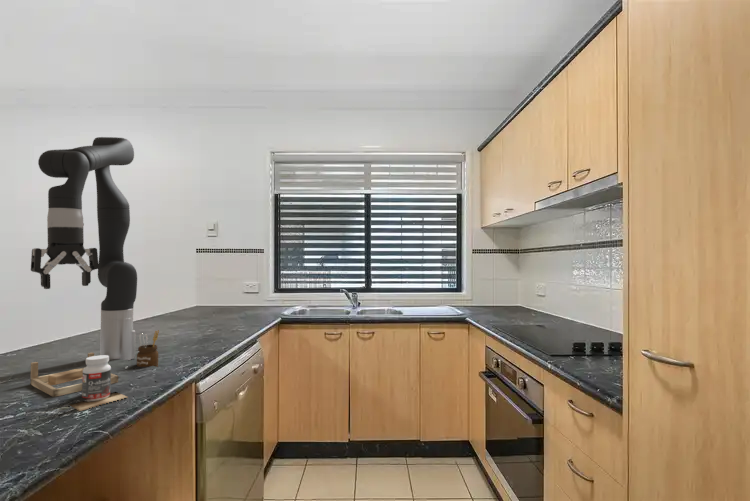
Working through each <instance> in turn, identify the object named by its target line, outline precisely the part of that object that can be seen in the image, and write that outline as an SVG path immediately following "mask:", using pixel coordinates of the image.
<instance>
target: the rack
mask: <svg viewBox="0 0 750 501" xmlns="http://www.w3.org/2000/svg"><path fill="white" fill-rule="evenodd" d="M92 356H95V353H94V352H87V358H88V357H92ZM84 368H85V367H81V368H80V369H81V370H83V369H84ZM61 372H62V371H61ZM61 372H59V373H61ZM57 373H58V372H56V373H50V374H46V375H45V374H44V375H40V376H39V362H38V361H34V362H30V379H29V380H30V382H29V383H30V385H31V386H33V387H34V388H35V389H38V390H40V391H41V392H43V393H44V394H47V395H49V396H51V397H52V398H56V397H61V396H64V395H69V394H75V393H78V392H82V382H81V383H77V384H76V383H75V384H72V385H71V384H70V385H68V386H63V387H59V388H56V387H55V386H53V385H51V386H50V385H48V384H46V383H47V382H48V377H49V375H53V374H57ZM116 383H119V375H116V374H115V373H112V372H111V385H112V384H116Z"/></svg>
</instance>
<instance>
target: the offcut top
mask: <svg viewBox="0 0 750 501" xmlns="http://www.w3.org/2000/svg"><path fill="white" fill-rule="evenodd" d="M56 373H57V374H55V373H52V374H53V375H50V374H48V375H49V377H48V383H50V384H55V385H54V386H57V385H60V384H64V383H63V382H65V383H68V382H67V381H69V382H72V381H71V380H73V381H76V380H75V379H78V378H82V377H83V370H81V368H73V369H70V370H65V371H61V373H60V372H56ZM78 380H79V379H78Z"/></svg>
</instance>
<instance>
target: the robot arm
mask: <svg viewBox="0 0 750 501" xmlns="http://www.w3.org/2000/svg"><path fill="white" fill-rule="evenodd" d="M134 149H135V148H134V147H133V144H132V142H131V141H130V140H128V139H127V138H124V137H114V136H113V137H112V136H111V137H110V136H109V137H108V136H101V137H95V138H94V139H93V141H92V145H83V146H79V147H73V148H68V149H65V148H64V149H50V150H46V151H44V152H42V153H41V154H40V156H39V157H38V162H37V163H38V168H39V169H40V171H41V172H42V173H43V174H45V175H46V176H48V177H51V178H55V179H56V178H57V179H58V178H59V179H60V178H61V179H62V178H63V179H66V178H67V179H66V180H65V182H64V183H63V184H60V185H54V186H52V187H50V188H49V189H48V194H47V199H48V200H47V202H48V204H47V208H48V212H47V215H46V216H47V219H46V220H47V222H46V223H47V225H46V226H47V247H46V248H39V247H38V248H36V247H35V248H32V250H31V258H30V261H31V262H30V271H31V272H32V273H38V274H39V275H40V286H41V287H42V288H43V289H45V290H50V289H51V274H50V272H51V271H52V270H53V268H56V267H57V266H58V265H59V266H60V265H76V266H77V267H79V268H80V270H81V271H82V272H81V285H82V287H88V286H89V284H91V282H92V281H91V279H92V278H91V273H92V272H93V271H95V270H97V277H98V278H97V279H98V282H99V283H100V284H101V286H103V287H105V288H106V296H105V298H104V299H103V300H102V302H101V304H100V338H99V339H100V345H99V346H100V347H99V349H100V350H99V355H108V356H109V361H110V360H118V359H120V360H125V361H130V360H133V359H136V333H137V332H136V330H135V329H134V304H135V301H136V299H137V290H138V273H137V268H135V266H134V265H133V264H132V263H129V262H127V261H126V262H125V258H124V257H125V256H124V245H125V241H126V238H127V235H128V232H129V229H130V224H131V216H130V214H131V213H130V203H129V201H128V199H127V197H125V195H124V194H123V192H122V191H121V190H120V189H119V187H118V186H117V185H116V183H115V181H114V179H113V177H112V174H111V167H110V166H127V165H130V164H131V163H132V162H133V161H134V158H135V150H134ZM93 171H94V174H95V181H96V211H97V212H96V214H97V215H96V216H97V227H98V229H97V230H98V231H97V232H98V233H97V234H98V242H99V243H98V246H99V247H98V248H99V251H98V248H96V247H90V248H85V246H84V243H85V242H84V225H85V223H84V216H83V215H84V214H83V203H82V202H83V201H82V200H83V199H82V198H83V192H84V188H85V184H86V181H87V178H88V175H89V172H93ZM98 252H99V253H98ZM85 254H86V256H87V257H88V262H89V265H88V262H86V261H85V259H84V258H83V256H84V255H85ZM45 255H47V256H48V257H49V259H48V260H47V261H46V262H44V265H43V266H42V264H41V263H42V258H43V257H44V256H45Z"/></svg>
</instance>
